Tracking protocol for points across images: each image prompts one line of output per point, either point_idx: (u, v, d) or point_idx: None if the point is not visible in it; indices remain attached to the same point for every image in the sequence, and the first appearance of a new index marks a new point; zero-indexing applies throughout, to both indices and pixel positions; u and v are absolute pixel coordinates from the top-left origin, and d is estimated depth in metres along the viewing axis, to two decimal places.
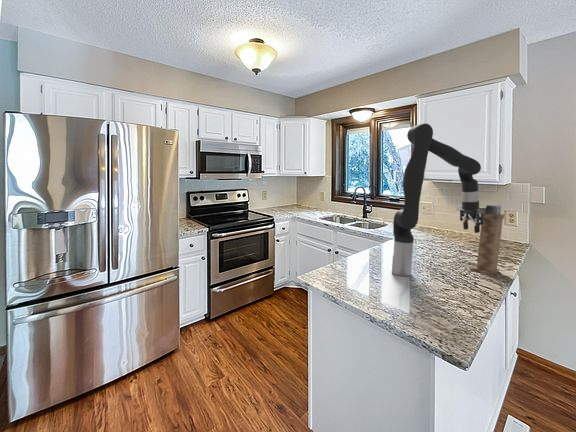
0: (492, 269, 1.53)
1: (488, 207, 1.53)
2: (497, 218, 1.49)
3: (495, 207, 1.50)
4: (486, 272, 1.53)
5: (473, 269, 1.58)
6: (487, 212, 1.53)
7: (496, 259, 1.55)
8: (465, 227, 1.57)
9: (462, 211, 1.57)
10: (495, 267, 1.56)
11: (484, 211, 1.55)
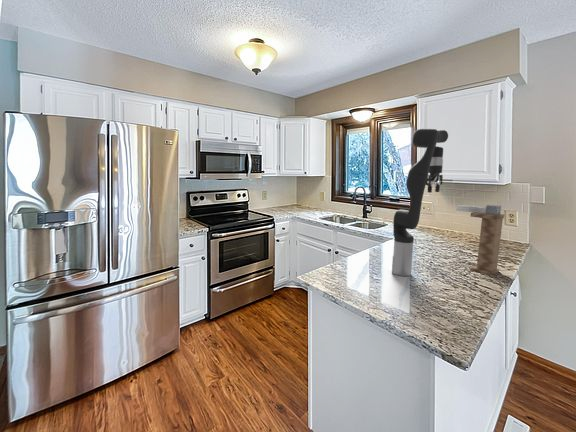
0: (492, 269, 1.53)
1: (488, 207, 1.53)
2: (497, 218, 1.49)
3: (495, 207, 1.50)
4: (486, 272, 1.53)
5: (473, 269, 1.58)
6: (487, 212, 1.53)
7: (496, 259, 1.55)
8: (436, 190, 1.80)
9: None
10: (495, 267, 1.56)
11: (484, 211, 1.55)
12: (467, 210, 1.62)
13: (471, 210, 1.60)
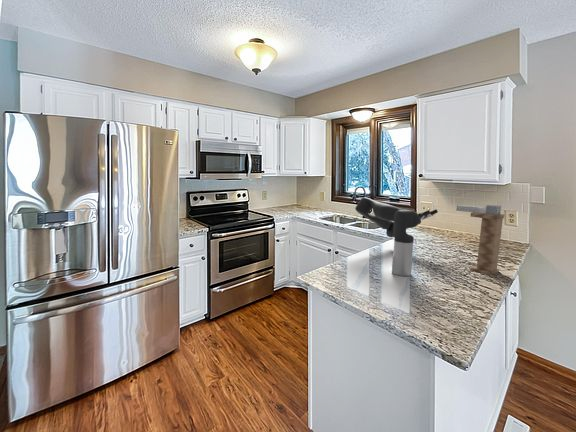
0: (492, 269, 1.53)
1: (488, 207, 1.53)
2: (497, 218, 1.49)
3: (495, 207, 1.50)
4: (486, 272, 1.53)
5: (473, 269, 1.58)
6: (487, 212, 1.53)
7: (496, 259, 1.55)
8: (435, 212, 1.82)
9: None
10: (495, 267, 1.56)
11: (484, 211, 1.55)
12: (467, 210, 1.62)
13: (471, 210, 1.60)
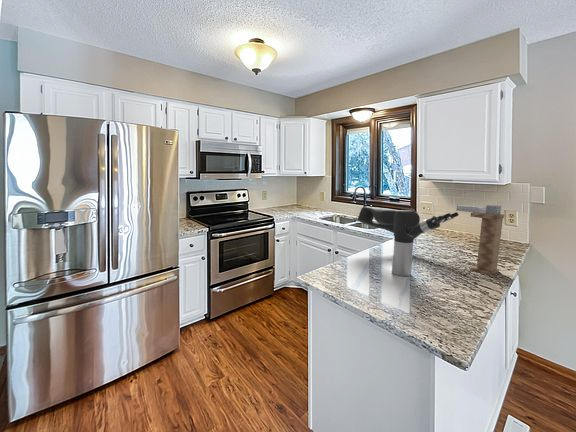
0: (492, 269, 1.53)
1: (488, 207, 1.53)
2: (497, 218, 1.49)
3: (495, 207, 1.50)
4: (486, 272, 1.53)
5: (473, 269, 1.58)
6: (487, 212, 1.53)
7: (496, 259, 1.55)
8: (456, 215, 1.73)
9: None
10: (495, 267, 1.56)
11: (484, 211, 1.55)
12: (467, 210, 1.62)
13: (471, 210, 1.60)
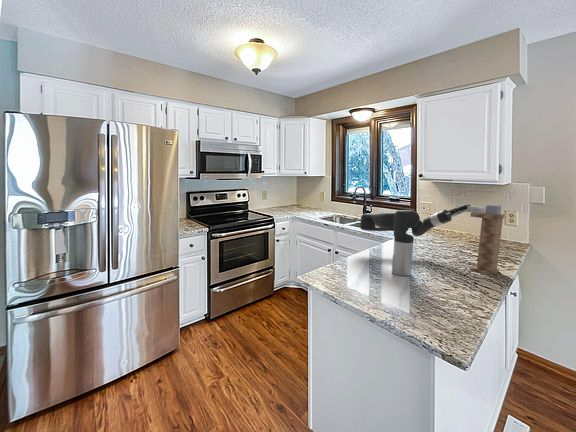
0: (492, 269, 1.53)
1: (488, 207, 1.53)
2: (497, 218, 1.49)
3: (495, 207, 1.50)
4: (486, 272, 1.53)
5: (473, 269, 1.58)
6: (487, 212, 1.53)
7: (496, 259, 1.55)
8: None
9: (457, 213, 1.73)
10: (495, 267, 1.56)
11: (484, 211, 1.55)
12: (467, 210, 1.62)
13: (471, 210, 1.60)
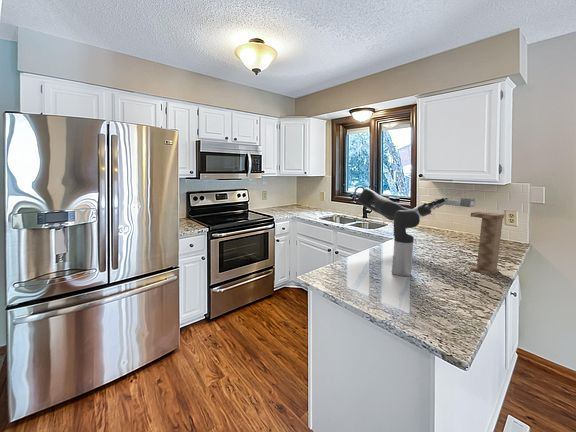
0: (492, 269, 1.53)
1: (462, 200, 1.62)
2: (497, 218, 1.49)
3: (468, 200, 1.60)
4: (486, 272, 1.53)
5: (473, 269, 1.58)
6: (461, 204, 1.63)
7: (496, 259, 1.55)
8: None
9: None
10: (495, 267, 1.56)
11: (459, 204, 1.65)
12: (444, 203, 1.72)
13: (448, 203, 1.70)
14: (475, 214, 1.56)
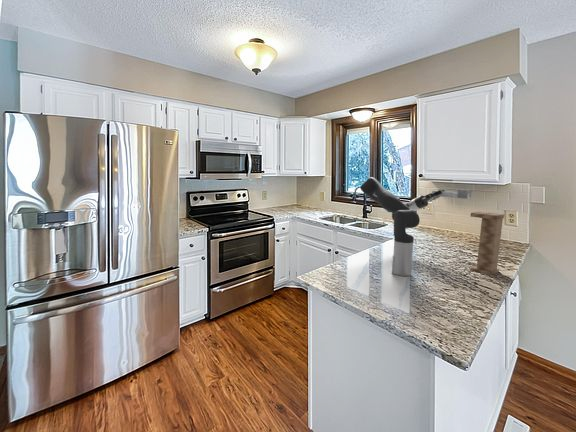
0: (492, 269, 1.53)
1: (459, 191, 1.64)
2: (497, 218, 1.49)
3: (465, 191, 1.61)
4: (486, 272, 1.53)
5: (473, 269, 1.58)
6: (458, 196, 1.64)
7: (496, 259, 1.55)
8: None
9: (433, 198, 1.84)
10: (495, 267, 1.56)
11: (456, 195, 1.66)
12: (441, 195, 1.73)
13: (445, 195, 1.71)
14: (475, 214, 1.56)
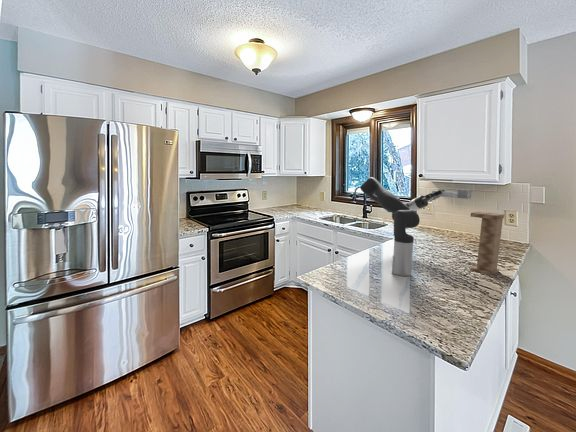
0: (492, 269, 1.53)
1: (459, 191, 1.64)
2: (497, 218, 1.49)
3: (465, 191, 1.61)
4: (486, 272, 1.53)
5: (473, 269, 1.58)
6: (458, 196, 1.64)
7: (496, 259, 1.55)
8: None
9: (433, 198, 1.84)
10: (495, 267, 1.56)
11: (456, 195, 1.66)
12: (441, 195, 1.73)
13: (445, 195, 1.71)
14: (475, 214, 1.56)
